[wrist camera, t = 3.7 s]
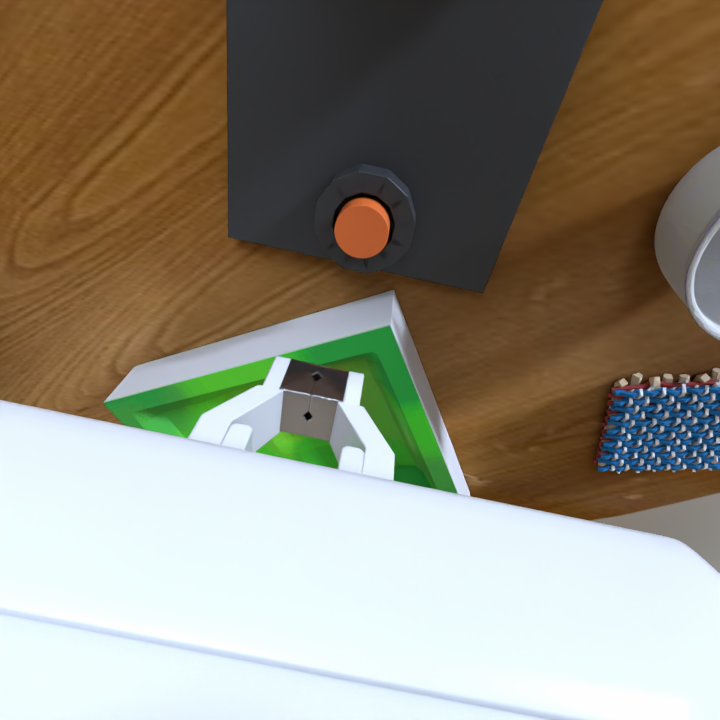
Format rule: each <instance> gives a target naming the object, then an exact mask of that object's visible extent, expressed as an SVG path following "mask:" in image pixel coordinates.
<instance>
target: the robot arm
mask: <svg viewBox="0 0 720 720" xmlns="http://www.w3.org/2000/svg"><path fill="white" fill-rule="evenodd" d="M348 373H349V374H348ZM363 380H364V374H362V373H357V372H352V371H344V370H339V369H335V368H330V367H325V366H321V365H317V364H312V363H308V362H304V361H299V360H295V359H290V358H286V357H281V356H276V357H275V359H274V361H273V363H272V365H271V367H270V370H269V372H268V374H267V376H266V378H265V381H264V383H263V385H257V386H255V387H253V388H251V389H249V390H247V391H245V392H243V393H241V394H239V395H238V396H236V397H234V398H232V399H230V400H228V401H226V402H224V403H222V404H220V405H218V406H217V407H215V408H213V409H211V410H209V411H207V412H205V413H203V414H202V415H201V416H200V418H199V420H198V421H197V423H196V425H195V426H194V428H193V430H192V432H191V433H190V435H189V437H188V438H183V437H179V436H174V435H169V434H164V433H159V432H154V431H149V430H145V429H140V428H135V427H130V426H125V425H120V424H115V423H110V422H106V421H101V420H96V419H91V418H86V417H81V416H76V415H72V414H67V413H62V412H57V411H52V410H47V409H42V408H38V407H33V406H28V405H23V404H18V403H13V402H8V401H3V400H0V720H720V573H719V572H717V571H716V570H715V569H714V568H713V567H712V566H711V565H710V564H708V563H707V562H706V561H705V560H704V559H703V558H702V557H700V556H699V555H698V554H697V553H696V552H695V551H693V550H692V549H691V548H689V547H688V546H687V545H685V544H684V543H683V542H681V541H678V540H676V539H673V538H670V537H666V536H662V535H657V534H652V533H647V532H642V531H637V530H632V529H628V528H623V527H618V526H613V525H608V524H603V523H598V522H593V521H588V520H583V519H579V518H574V517H569V516H564V515H559V514H554V513H549V512H544V511H540V510H535V509H530V508H525V507H520V506H515V505H510V504H505V503H501V502H496V501H491V500H486V499H481V498H476V497H471V496H466V495H462V494H457V493H452V492H447V491H442V490H437V489H432V488H427V487H422V486H417V485H412V484H408V483H403V482H398V481H394V462H395V454H394V453H393V451H392V450H391V448H390V447H389V445H388V443H387V442H386V440H385V439H384V437H383V436H382V434H381V433H380V431H379V430H378V428H377V427H376V425H375V424H374V422H373V420H372V419H371V417H370V416H369V414H368V413H367V411H366V410H365V408H364V407H362V406H360V399H361V393H362V386H363ZM279 431H281V432H287V433H293V434H298V435H304V436H308V437H312V438H317V439H321V440H325V441H330V445H331V447H332V450H333V452H334V454H335V457H336V459H337V462H338V468H337V469H335V468H330V467H325V466H320V465H315V464H310V463H306V462H301V461H296V460H291V459H286V458H281V457H276V456H271V455H266V454H261V453H256V451H257V450H258V449H260V448H261V447H262V446H263V445H265V444H266V443H267V442H268V441H270V440H271V439H272V438H273V437H274V436H276V435H277V434H278V433H279Z"/></svg>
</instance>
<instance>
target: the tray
mask: <svg viewBox="0 0 720 720" xmlns="http://www.w3.org/2000/svg"><path fill="white" fill-rule="evenodd" d="M276 356H281V357H286V358H290V359H295V360H299V361H304V362H308V363H312V364H317V365H321V366H325V367H330V368H335V369H339V370H344V371H352V372H357V373H362V374H364V380H363V386H362V393H361V399H360V406H362V407H364V408H365V410H366V411H367V413H368V414H369V416H370V417H371V419H372V420H373V422H374V424H375V425H376V427H377V428H378V430H379V431H380V433H381V434H382V436H383V437H384V439H385V440H386V442H387V443H388V445H389V447H390V448H391V450H392V451H393V453H394V454H395V462H394V481H398V482H403V483H408V484H412V485H417V486H422V487H427V488H432V489H437V490H442V491H447V492H452V493H457V494H462V495H466V496H470V491H469V489H468V486H467V483H466V481H465V478H464V475H463V473H462V470H461V467H460V465H459V462H458V459H457V457H456V454H455V451H454V449H453V446H452V443H451V441H450V438H449V435H448V433H447V430H446V427H445V425H444V422H443V419H442V417H441V414H440V411H439V409H438V406H437V403H436V401H435V398H434V395H433V393H432V390H431V387H430V385H429V382H428V379H427V377H426V374H425V371H424V369H423V366H422V363H421V361H420V358H419V355H418V353H417V350H416V347H415V345H414V342H413V339H412V337H411V334H410V331H409V329H408V326H407V323H406V321H405V318H404V315H403V313H402V310H401V307H400V305H399V302H398V300H397V297H396V294H395V292H394V290H391V291H387V292H384V293H381V294H377V295H374V296H370V297H367V298H364V299H360V300H357V301H354V302H350V303H347V304H343V305H340V306H337V307H333V308H330V309H327V310H323V311H320V312H316V313H313V314H310V315H306V316H303V317H300V318H296V319H293V320H289V321H286V322H283V323H279V324H276V325H273V326H269V327H266V328H262V329H259V330H256V331H252V332H249V333H245V334H242V335H239V336H235V337H232V338H229V339H225V340H222V341H218V342H215V343H212V344H208V345H205V346H202V347H198V348H195V349H191V350H188V351H185V352H181V353H178V354H175V355H171V356H168V357H164V358H161V359H158V360H154V361H151V362H148V363H144V364H141V365H137V366H135V367H134V368H133V369H132V370H131V371H130V373H129V374H128V375H127V376H126V377H125V378H124V380H123V381H122V382H121V383H120V384H119V385H118V386H117V388H116V389H115V390H114V391H113V392H112V393H111V394H110V396H109V397H108V398H107V399H106V400H105V401H104V403H103V404H104V405H105V406H106V407H107V408H108V409H109V410H110V411H111V412H112V413H113V414H114V415H115V416H116V417H117V418H118V419H119V420H120V422H121V423H122V424H123V425H125V426H130V427H135V428H140V429H145V430H149V431H154V432H159V433H164V434H169V435H174V436H179V437H183V438H188V437H189V435H190V433H191V432H192V430H193V428H194V426H195V425H196V423H197V421H198V420H199V418H200V416H201V415H202V414H203V413H205V412H207V411H209V410H211V409H213V408H215V407H217V406H218V405H220V404H222V403H224V402H226V401H228V400H230V399H232V398H234V397H236V396H238V395H239V394H241V393H243V392H245V391H247V390H249V389H251V388H253V387H255V386H257V385H263V383H264V381H265V378H266V376H267V374H268V372H269V370H270V367H271V365H272V363H273V361H274V359H275V357H276ZM348 374H349V373H348ZM256 453H261V454H266V455H271V456H276V457H281V458H286V459H291V460H296V461H301V462H306V463H310V464H315V465H320V466H325V467H330V468H335V469H337V468H338V462H337V459H336V457H335V454H334V452H333V450H332V447H331V445H330V441H325V440H321V439H317V438H312V437H308V436H304V435H298V434H293V433H287V432H281V431H279V433H278V434H277V435H276V436H274V437H273V438H272V439H271V440H270V441H268V442H267V443H266V444H265V445H263V446H262V447H261V448H260V449H258V450H257V451H256Z"/></svg>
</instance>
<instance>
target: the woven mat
mask: <svg viewBox="0 0 720 720" xmlns="http://www.w3.org/2000/svg"><path fill="white" fill-rule="evenodd" d="M642 376H643V375H642V374H640V373H636V374H632V378H631V383H630V385H629V386H625V385H627V384H628V382H627V381H626V380H625V379H624V378H621V379H619V380H618V381H616V382H615V385H614V387H612V388H611V391H612V393H608V397H610V398H611V401H608V403H607V405H608V406H609V409H607V410H606V413H607V414H608V416H605V420H604V421H603V422H602V425H603V426H604V430H602V435H600V440H601V442H599V447H600V448H598V449H597V452H598V453H599V454H596V458H595V459H593V463H595V464H596V463H598V465H599V466H601V467H598V471H599V472H605V471H607V470H610V471H614V470H616V471H617V473H620V472H621V471H623V470H624V471H627V470H629V469H633V470H636V473H640V472H641V471H642V470H644V471H646V470H650V469H653V472H656V470H658V471H661V470H662V469H663V470H665V471H666V470H669V469H672V472H675V471H676V470H678V469H679V470H684V469H686V467H687V468H691V469H692V470H693V472H696V470H699V469H701V470H704V469H707V468H708V470H711V471H712V469H716V470H718V469H720V463H718V464H716V463H717V462H720V368H713V369H712V371H711V375H710V377H709V376H708V375H707V374H706V373H705V374H700V375H697V376H696V377H695V378H694V379H693V381H692V382H690V376H689V375H686V374H680V376H679V382H677V383H672V381H673V377H672V374H664V376H663V379H662V381H660V377H651V378H649V380H648V381H647V382H645V383H644V384H641V381H642ZM708 380H709V381H708ZM617 413H619V414H617ZM646 419H647V420H646ZM610 440H612V441H610ZM608 452H610V453H608ZM637 457H638V458H637ZM661 463H663V464H661ZM691 463H692V464H691ZM635 464H636V465H635ZM660 464H661V465H660ZM696 464H697V465H696ZM703 466H704V467H703Z"/></svg>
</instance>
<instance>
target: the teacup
mask: <svg viewBox="0 0 720 720" xmlns="http://www.w3.org/2000/svg"><path fill="white" fill-rule="evenodd" d="M654 245H655V253H656V258H657V262H658V264H659V267H660V269H661V271H662V273H663V275H664V277H665V278H666V280H667V281H668V283H669V284H670V286H671V287H672V289H673V290H674V291H675V293H676V294H677V295H678V296H679V298H680V299H681V300H682V301H683V303H684V304H685V305H686V306H687V307H688V310H689V312H690V314H691V316H692V317H693V319H694V320H695V322H696V323H697V324H698V325H699V326H700V327H701V328H702V329H703V330H704V331H705V332H706V333H708V334H709V335H710V336H712V337H713V338H715V339H717V340H720V146H719V147H717V148H716V149H714V150H713V151H711V152H710V153H709V154H707V155H706V156H705V157H704V158H702V159H701V160H700V161H699V162H698V163H697V164H695V165H694V166H693V167H692V168H691V169H690V170H689V171H688V172H687V174H686V175H685V176H684V177H683V178H682V179H681V180H680V181H679V183H678V184H677V185H676V186H675V188H674V189H673V191H672V192H671V194H670V195H669V197H668V199H667V201H666V202H665V204H664V206H663V208H662V210H661V213H660V216H659V219H658V222H657V226H656V231H655V244H654Z"/></svg>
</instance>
